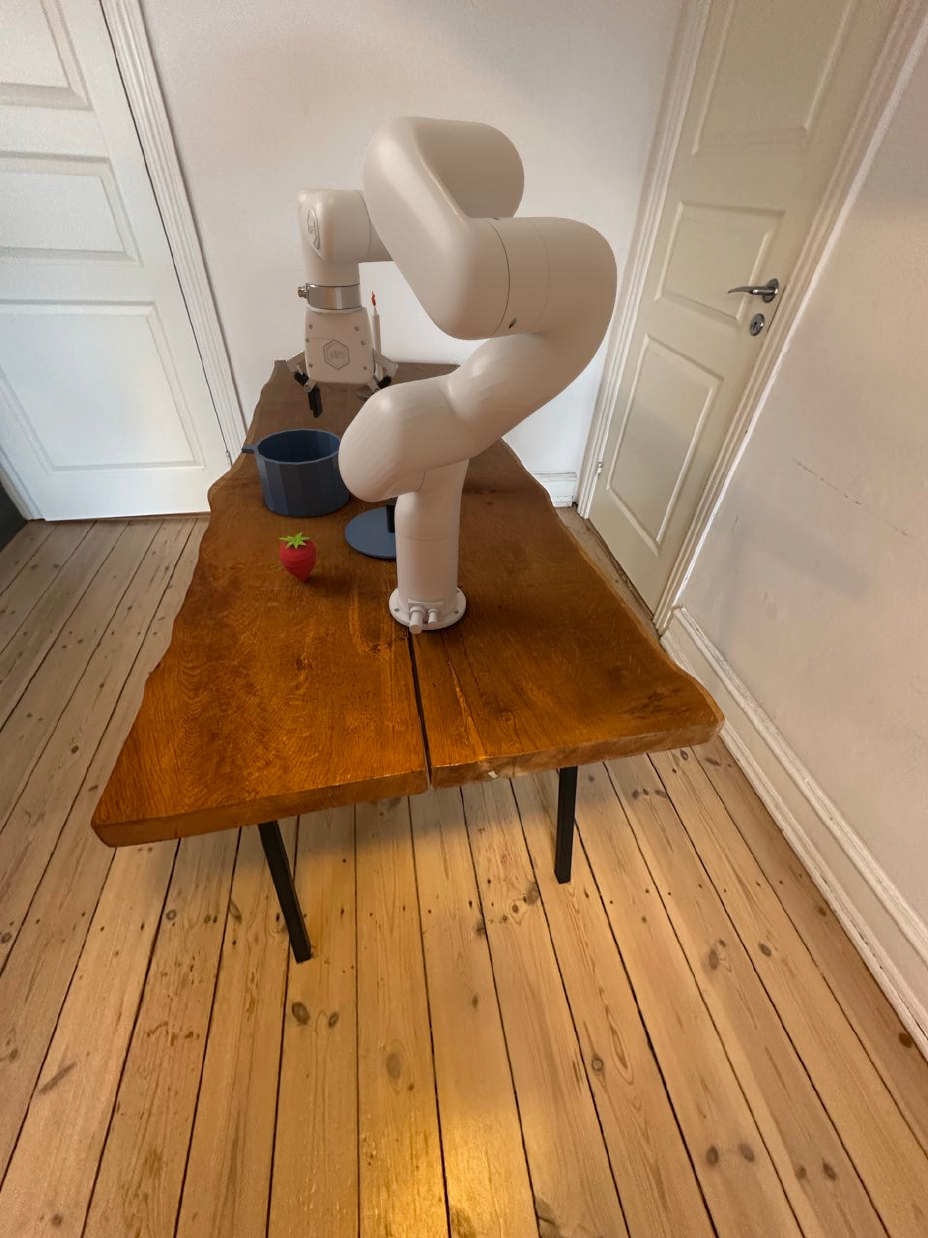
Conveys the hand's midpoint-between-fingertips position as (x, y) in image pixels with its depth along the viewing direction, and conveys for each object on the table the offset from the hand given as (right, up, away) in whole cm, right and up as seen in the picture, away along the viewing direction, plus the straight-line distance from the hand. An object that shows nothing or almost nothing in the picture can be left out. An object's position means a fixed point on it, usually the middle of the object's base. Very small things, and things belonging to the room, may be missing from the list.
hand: (347, 416), depth 90 cm
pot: (-14, -7, +28) cm, 32 cm away
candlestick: (-1, +9, +48) cm, 49 cm away
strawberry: (-9, -27, +5) cm, 29 cm away
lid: (+5, -16, +17) cm, 24 cm away
